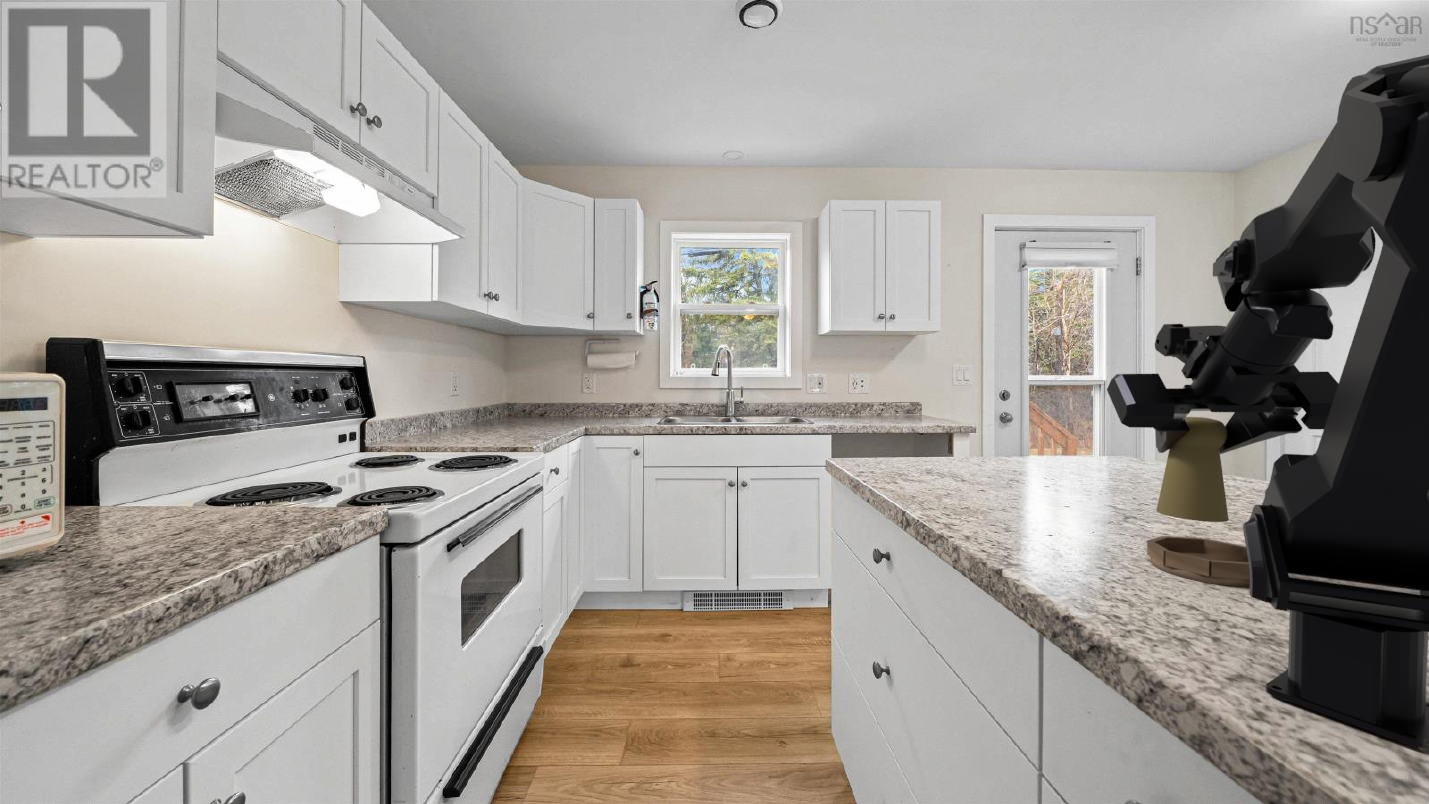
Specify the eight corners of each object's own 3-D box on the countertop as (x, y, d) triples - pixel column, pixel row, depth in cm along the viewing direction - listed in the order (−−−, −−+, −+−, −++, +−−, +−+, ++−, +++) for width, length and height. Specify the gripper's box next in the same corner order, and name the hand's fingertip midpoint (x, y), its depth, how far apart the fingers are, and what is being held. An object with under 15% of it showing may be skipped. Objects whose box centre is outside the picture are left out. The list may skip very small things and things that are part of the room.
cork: (1197, 509, 62) (1201, 416, 62) (1244, 522, 56) (1249, 419, 56) (1143, 508, 63) (1146, 415, 63) (1184, 521, 57) (1188, 418, 57)
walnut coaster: (1247, 593, 53) (1247, 569, 53) (1134, 565, 61) (1134, 544, 61) (1283, 576, 57) (1284, 554, 57) (1173, 551, 66) (1173, 532, 66)
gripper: (1334, 290, 53) (1253, 399, 64) (1115, 299, 58) (1075, 399, 69) (1412, 366, 45) (1305, 475, 56) (1153, 369, 50) (1101, 469, 61)
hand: (1187, 450), depth 61 cm, fingers closed on cork, 5 cm apart
